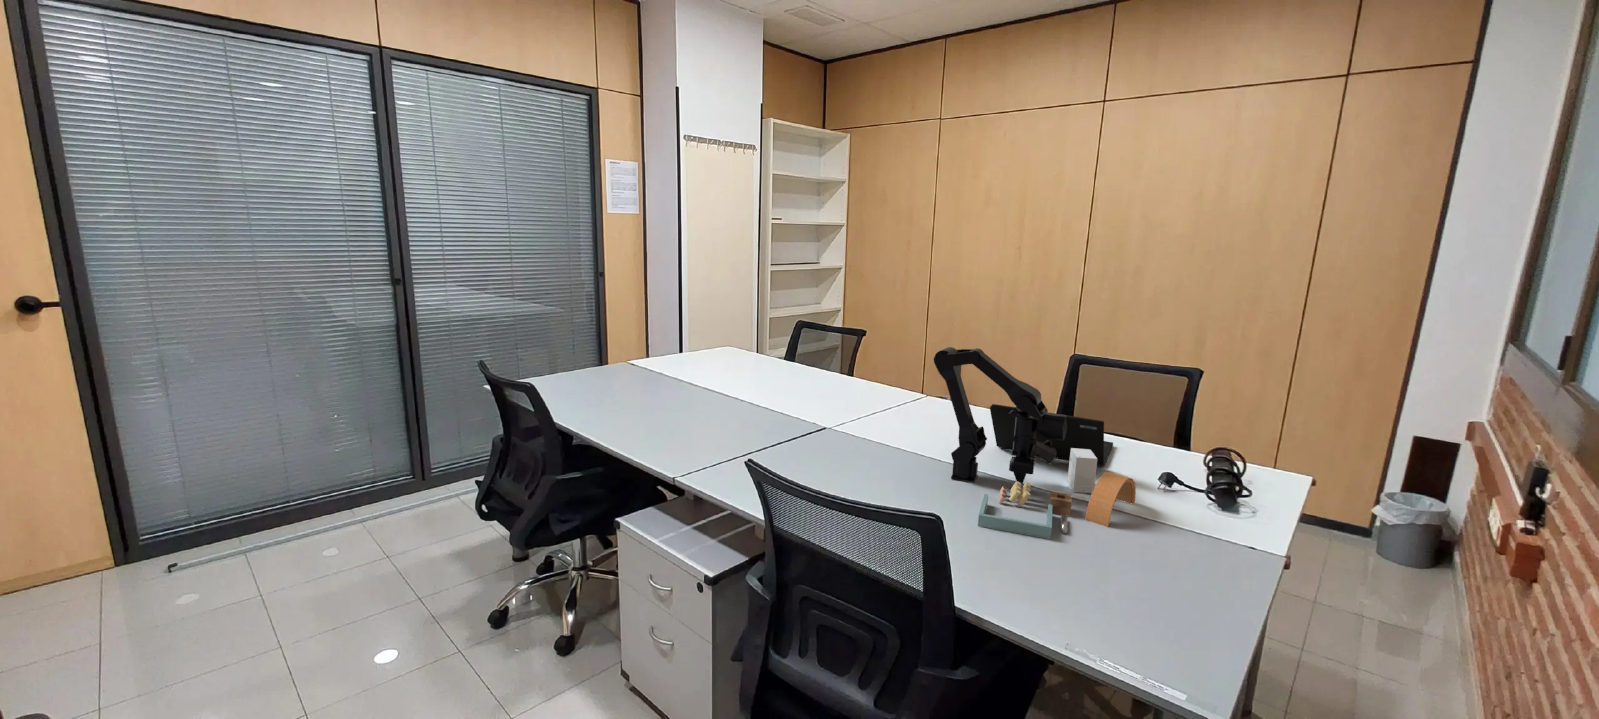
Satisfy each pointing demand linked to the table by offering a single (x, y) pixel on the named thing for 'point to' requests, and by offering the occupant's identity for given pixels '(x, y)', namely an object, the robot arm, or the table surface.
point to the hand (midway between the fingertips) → (1020, 485)
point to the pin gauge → (1063, 524)
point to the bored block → (1060, 503)
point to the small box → (1082, 470)
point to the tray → (1015, 523)
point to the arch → (1109, 496)
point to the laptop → (1077, 436)
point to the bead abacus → (1016, 493)
